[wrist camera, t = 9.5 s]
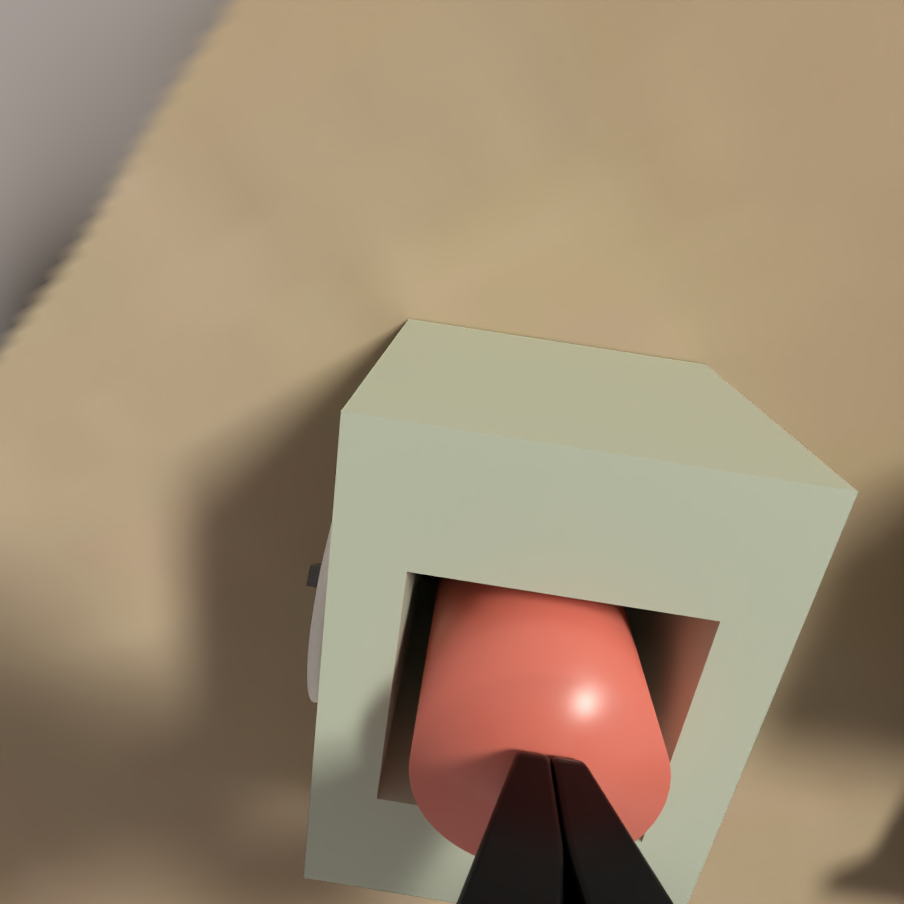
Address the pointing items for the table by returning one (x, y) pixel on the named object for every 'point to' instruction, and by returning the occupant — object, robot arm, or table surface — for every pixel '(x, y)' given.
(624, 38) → the table surface
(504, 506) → the cabinet
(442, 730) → the gauge button
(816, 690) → the table surface
